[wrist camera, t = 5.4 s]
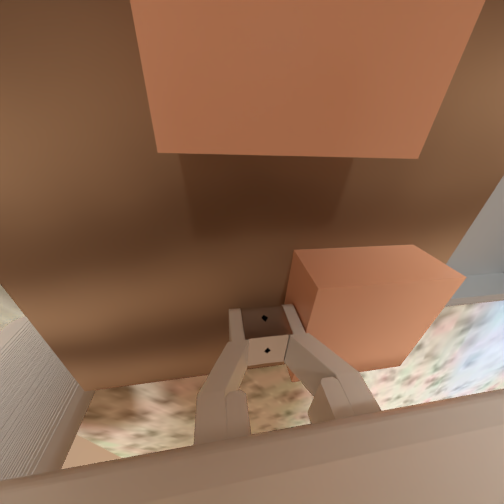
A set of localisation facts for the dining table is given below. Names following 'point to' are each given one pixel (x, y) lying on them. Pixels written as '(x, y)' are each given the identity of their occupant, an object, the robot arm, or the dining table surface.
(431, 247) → the brown wooden block
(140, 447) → the dining table surface
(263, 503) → the robot arm
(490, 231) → the box
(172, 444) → the dining table surface
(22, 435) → the cup
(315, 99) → the terracotta tile
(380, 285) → the terracotta tile
